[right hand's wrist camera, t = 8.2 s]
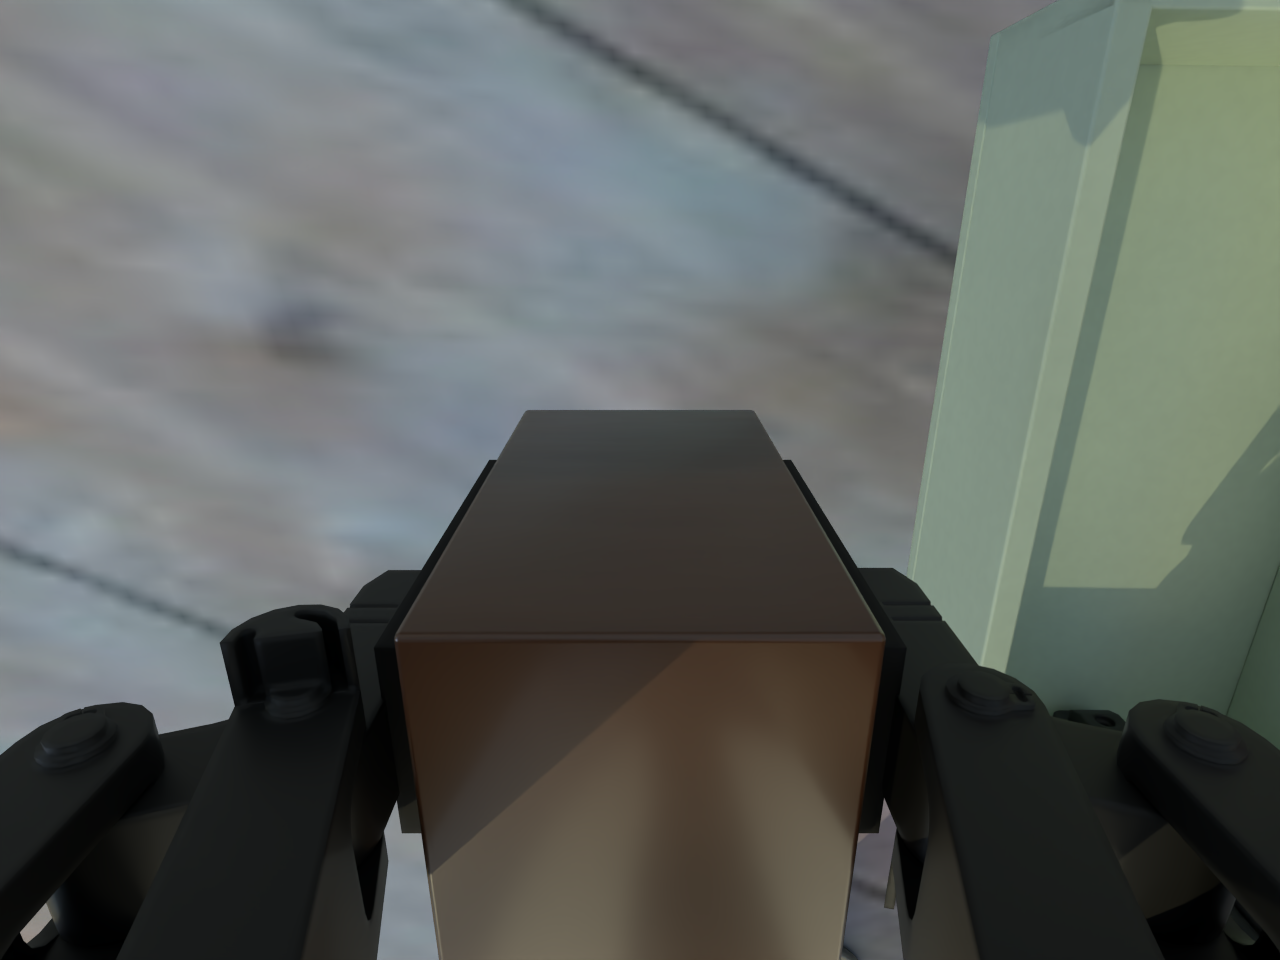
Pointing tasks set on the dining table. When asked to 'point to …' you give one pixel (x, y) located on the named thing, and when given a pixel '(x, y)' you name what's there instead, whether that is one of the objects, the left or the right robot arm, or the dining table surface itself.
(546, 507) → the walnut block
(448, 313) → the dining table surface
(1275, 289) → the tote
